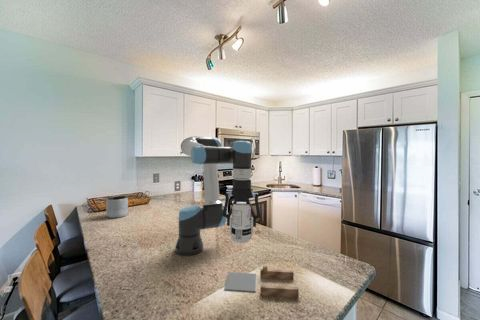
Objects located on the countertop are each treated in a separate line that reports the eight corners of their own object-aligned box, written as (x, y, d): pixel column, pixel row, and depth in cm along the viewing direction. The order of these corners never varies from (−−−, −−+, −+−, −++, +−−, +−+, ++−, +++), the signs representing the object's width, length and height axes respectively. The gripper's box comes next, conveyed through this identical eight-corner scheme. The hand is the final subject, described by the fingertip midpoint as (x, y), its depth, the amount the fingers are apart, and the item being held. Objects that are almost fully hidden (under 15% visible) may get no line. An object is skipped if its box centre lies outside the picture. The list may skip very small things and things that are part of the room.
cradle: (260, 295, 79) (260, 283, 79) (260, 275, 93) (260, 265, 92) (298, 297, 78) (298, 285, 78) (292, 277, 91) (292, 266, 91)
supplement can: (231, 235, 91) (231, 201, 91) (250, 235, 91) (250, 200, 91) (231, 243, 83) (232, 205, 82) (252, 243, 83) (253, 205, 83)
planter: (112, 219, 169) (112, 200, 169) (102, 216, 178) (102, 198, 178) (131, 215, 183) (131, 197, 182) (121, 212, 191) (121, 195, 191)
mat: (224, 290, 82) (224, 289, 82) (228, 273, 94) (228, 272, 94) (255, 292, 81) (255, 291, 81) (255, 274, 93) (255, 273, 93)
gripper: (214, 179, 84) (214, 236, 84) (268, 180, 82) (267, 238, 82) (218, 177, 91) (218, 229, 92) (267, 178, 89) (266, 231, 90)
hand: (241, 233), depth 87 cm, fingers closed on supplement can, 8 cm apart
